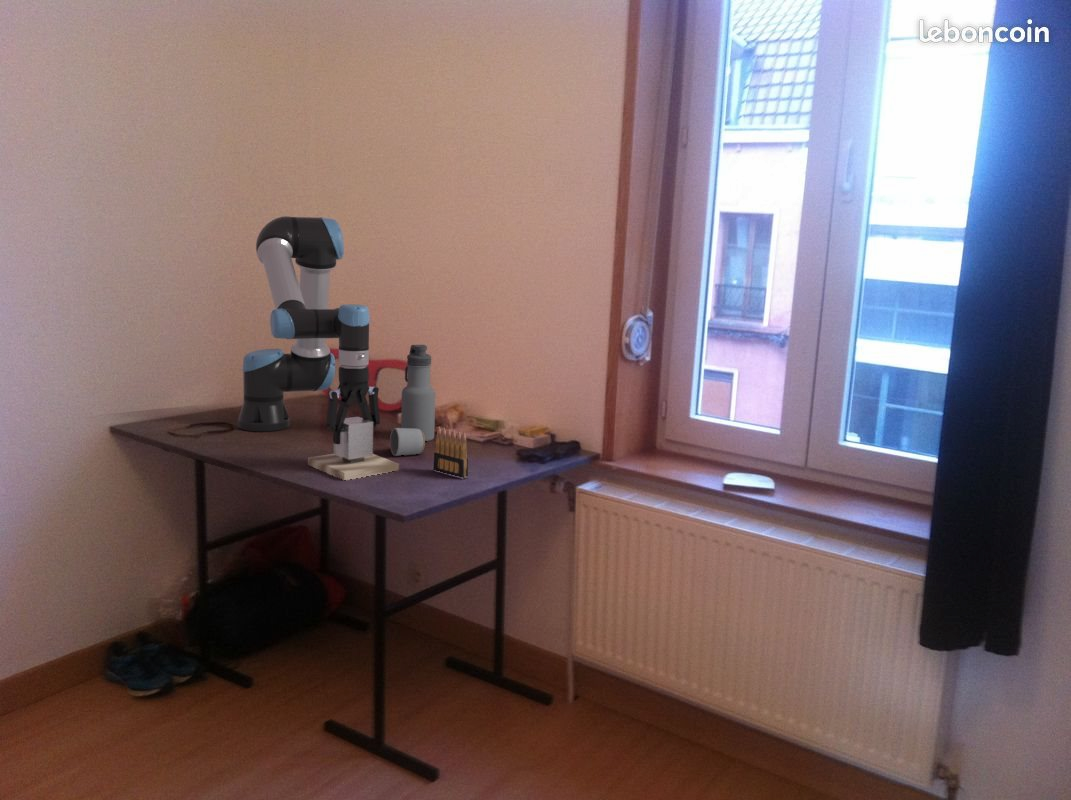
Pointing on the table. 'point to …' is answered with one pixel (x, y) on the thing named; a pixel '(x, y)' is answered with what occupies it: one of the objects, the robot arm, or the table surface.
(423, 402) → the water bottle
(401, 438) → the ceramic mug
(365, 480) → the table surface
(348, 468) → the base
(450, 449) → the ammunition clip
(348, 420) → the mottled grey cube
